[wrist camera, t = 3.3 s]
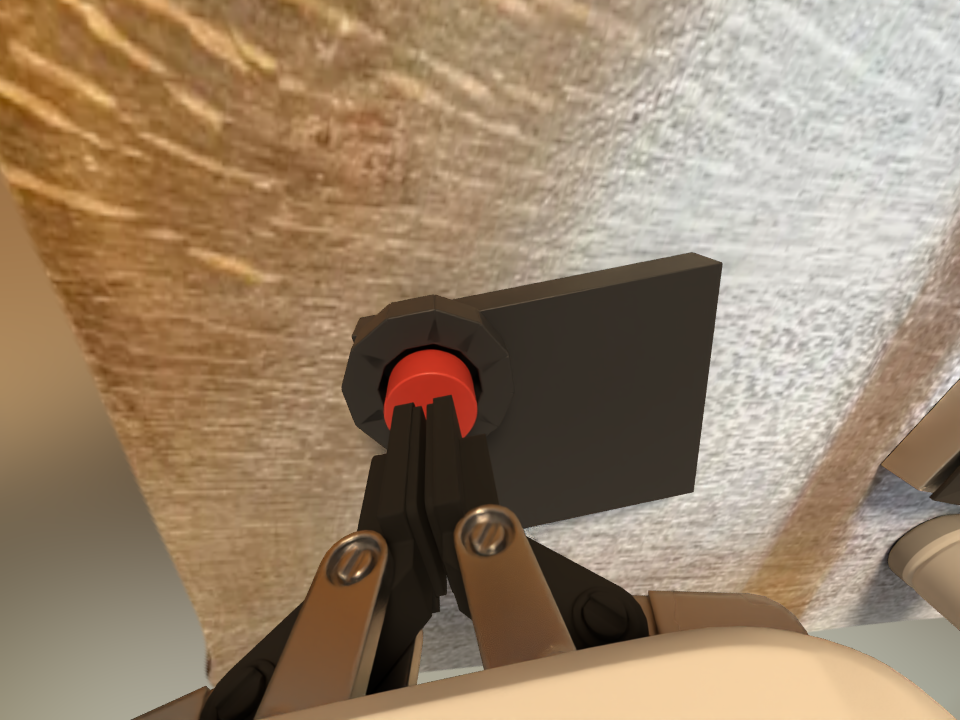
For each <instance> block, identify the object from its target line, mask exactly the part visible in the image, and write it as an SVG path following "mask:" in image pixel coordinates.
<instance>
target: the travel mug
mask: <svg viewBox="0 0 960 720" xmlns="http://www.w3.org/2000/svg"><path fill="white" fill-rule="evenodd" d="M888 565H889V567H890V569H891V570H892V571H893V572H894V573H895V574H896V575H897V576H898V577H900V578H901V579H902V580H903V581H904V582H905V583H906V584H907V585H909V586H910V587H912V588H914V590H915V591H916V593H918V594H919V595H920V596H921V597H922V598H923V599H924V600H926V601H927V602H928V603H929V604H930V605H931V606H932V607H933V608H935V609H936V610H937V611H938V612H939V613H940V614H941V615H942V616H944V617H945V618H946V619H947V620H948V621H949V622H950V623H952V624H953V625H954V626H955V627H956V628H957V629H958V630H959V631H960V514H951V515H944V516H940V517H937V518H934V519H931V520H929V521H927V522H924V523H922V524H921V525H919V526H917V527H915V528H914V529H912V530H911V531H909V532H908V533H907V534H905V535H904V536H903V537H902V538H901V539H900V540H899V541H898V542H897V543H896V544H895V545H894V547H893V548H892V549H891V551H890V553H889V557H888Z"/></svg>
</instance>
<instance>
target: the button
mask: <svg viewBox="0 0 960 720" xmlns="http://www.w3.org/2000/svg"><path fill="white" fill-rule="evenodd" d="M447 395H452V397H453V401H454V406H455V410H456V414H457V418H458V422H459V427H460V431H461V435H462V438H464V437H465V436H466V435H467V434H468V433H469V432H470V430H471V429H472V427H473V425H474V423H475V421H476V418H477V401H476V396H475V391H474V386H473V381H472V377H471V374H470V371H469V369H468V368H467V366H466V365H465V364H464V363H463V362H462V361H461V360H460V359H459V358H457V357H456V356H454V355H452V354H450V353H448V352H445V351H441V350H434V349H427V350H421V351H417V352H414V353H412V354H409V355H408V356H406V357H404V358H403V359H402V360H400V361H399V362H398V363H397V365H396V366H395V367H394V369H393V370H392V372H391V375H390V377H389V382H388V387H387V393H386V398H385V403H384V419H385V422H386V425H387V427H388V428H389V430H390V428H391V422H392V415H393V409H394V406H397V405H402V404H407V403H412V402H413V403H414V404H415V407H417V406H422V408H423V411H424V415H425V418H426V407H427V404H432V403H433V398H437V397H442V396H447Z"/></svg>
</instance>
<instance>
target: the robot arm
mask: <svg viewBox="0 0 960 720" xmlns="http://www.w3.org/2000/svg"><path fill="white" fill-rule="evenodd" d="M446 575H447V577H446ZM447 578H448V581H449V584H450V587H451V590H452V593H454V595H455V598H456V601H457V604H458V607H459V611H461V612H462V613H463V614H465V615H466V616H467V617H469V618H470V619H471V620H472V621H473V625H474V629H475V634H476V638H477V642H478V646H479V651H480V655H481V659H482V663H483V667H484V670H483V671H478V672H474V673H469V674H464V675H459V676H455V677H450V678H446V679H441V680H436V681H432V682H427V683H423V684H418V685H417V679H418V672H419V666H420V659H421V652H422V646H423V630H422V628H423V627H424V626H425V624H426V623H427V622H428V621H429V619H430V618H431V617H432V613H435V612H440V596H443V595H446V594H447ZM131 720H957V719H955V717H953V716H952V715H951V714H950V713H949V712H948V711H947V710H946V709H945V708H943V707H942V706H941V705H940V704H939V703H937V702H936V701H935V700H934V699H933V698H931V697H930V696H929V695H928V694H927V693H925V692H924V691H923V690H922V689H921V688H919V687H918V686H917V685H916V684H914V683H913V682H912V681H910V680H909V679H907V678H906V677H904V676H903V675H901V674H900V673H898V672H897V671H896V670H894V669H893V668H891V667H890V666H888V665H886V664H884V663H883V662H881V661H879V660H877V659H875V658H873V657H871V656H869V655H867V654H864V653H862V652H859V651H857V650H855V649H853V648H850V647H847V646H844V645H841V644H838V643H835V642H831V641H828V640H826V639H822V638H818V637H814V636H810V635H808V633H807V631H806V630H805V629H804V627H803V626H802V625H801V623H800V622H799V621H798V619H797V618H796V617H795V616H794V615H793V614H792V613H791V612H790V611H788V610H787V609H786V608H785V607H783V606H782V605H781V604H779V603H777V602H775V601H773V600H771V599H769V598H767V597H765V596H760V595H755V594H750V593H718V592H684V591H650V590H648V596H643V595H631V594H630V593H628V592H627V591H625V590H624V589H623V588H621V587H620V586H618V585H616V584H614V583H612V582H610V581H608V580H607V579H605V578H603V577H601V576H599V575H597V574H595V573H594V572H592V571H590V570H588V569H586V568H584V567H582V566H581V565H579V564H577V563H575V562H573V561H571V560H569V559H568V558H566V557H564V556H562V555H560V554H558V553H556V552H555V551H553V550H551V549H549V548H547V547H545V546H543V545H542V544H540V543H538V542H536V541H534V540H532V539H530V538H529V537H527V536H526V535H525V532H524V530H523V528H522V526H521V523H520V521H519V519H518V518H517V516H516V515H515V514H514V513H513V512H512V511H511V510H509V509H508V508H506V507H503V506H500V505H499V500H498V495H497V490H496V485H495V479H494V474H493V469H492V464H491V459H490V454H489V449H488V444H487V439H486V435H485V433H484V434H479V435H475V436H470V437H465V438H462V435H461V431H460V427H459V422H458V418H457V414H456V410H455V406H454V401H453V397H452V395H447V396H442V397H437V398H433V403H432V404H427V407H426V418H425V415H424V411H423V408H422V406H417V407H415V404H414V403H413V402H412V403H407V404H402V405H397V406H394V409H393V415H392V422H391V428H390V434H389V441H388V447H387V453H386V454H382V455H377V456H374V457H373V458H372V461H371V465H370V470H369V475H368V480H367V485H366V490H365V495H364V500H363V505H362V509H361V514H360V519H359V524H358V529H357V532H353V533H351V534H349V535H347V536H345V537H343V538H342V539H340V540H339V541H338V542H336V543H335V544H334V545H333V546H332V547H331V548H330V549H329V550H328V551H327V552H326V554H325V556H324V558H323V559H322V561H321V563H320V565H319V568H318V570H317V572H316V575H315V577H314V579H313V582H312V584H311V586H310V589H309V591H308V593H307V596H306V598H305V600H304V601H303V602H302V603H301V604H300V605H299V606H298V607H297V608H296V609H295V610H293V611H292V612H291V613H290V614H289V615H288V616H287V617H286V618H285V619H284V620H283V621H282V622H281V623H280V624H279V625H278V626H276V627H275V628H274V629H273V630H272V631H271V632H270V633H269V634H268V635H267V636H266V637H265V638H264V639H263V640H262V641H260V642H259V643H258V644H257V645H256V646H255V647H254V648H253V649H252V650H251V651H250V652H249V653H248V654H247V655H246V656H245V657H243V658H242V659H241V660H240V661H239V662H238V663H237V664H236V665H235V666H234V667H233V668H232V669H231V670H230V671H229V672H228V673H227V674H226V675H225V676H224V677H223V678H222V679H221V681H220V682H219V683H218V684H217V685H216V687H215V688H214V689H212V690H210V689H209V688H208V687H207V686H204V687H202V688H200V689H198V690H195V691H193V692H191V693H189V694H187V695H184V696H182V697H180V698H178V699H176V700H173V701H171V702H169V703H167V704H165V705H162V706H160V707H158V708H156V709H154V710H151V711H149V712H147V713H145V714H142V715H140V716H138V717H136V718H134V719H131Z"/></svg>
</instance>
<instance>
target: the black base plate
mask: <svg viewBox="0 0 960 720" xmlns="http://www.w3.org/2000/svg"><path fill="white" fill-rule="evenodd" d="M721 271H722V262H719V261H716V260H713V259H711V258H708V257H705V256H702V255H699V254H696V253H693V252H691V253H686V254H681V255H676V256H671V257H666V258H661V259H656V260H651V261H646V262H641V263H636V264H631V265H625V266H620V267H615V268H610V269H605V270H600V271H595V272H590V273H585V274H580V275H575V276H570V277H565V278H560V279H555V280H550V281H544V282H539V283H534V284H529V285H524V286H519V287H514V288H509V289H504V290H499V291H494V292H489V293H484V294H479V295H474V296H468V297H463V298H458V299H453V300H450V299H447V298H444V297H441V296H438V295H428V296H423V297H418V298H413V299H408V300H403V301H398V302H393V303H391V304H389V305H387V306H386V307H385V308H384V309H383V310H382V311H381V312H380V313H378V314H377V315H372V316H367V317H362V318H360V319H359V321H358V323H357V325H356V328H355V330H354V332H353V334H352V339H353V342H354V344H353V346H352V349H351V352H350V355H349V359H348V363H347V367H346V371H345V375H344V379H343V383H342V392H343V395H344V397H345V400H346V402H347V405H348V407H349V410H350V413H351V415H352V418H353V420H354V423H355V425H356V426H357V427H358V428H359V429H361V430H362V431H363V432H365V433H366V434H367V435H369V436H370V437H371V438H373V439H374V440H375V441H376V442H378V443H379V444H380V445H382V446H383V447H384V448H386V449H387V447H388V441H389V434H390V430H389V428H388V427H387V425H386V422H385V419H384V403H385V398H386V393H387V387H388V382H389V377H390V375H391V372H392V370H393V369H394V367H395V366H396V365H397V363H398V362H399V361H400V360H402V359H403V358H404V357H406V356H408V355H409V354H412V353H414V352H417V351H421V350H427V349H434V350H441V351H445V352H448V353H450V354H452V355H454V356H456V357H457V358H459V359H460V360H461V361H462V362H463V363H464V364H465V365H466V366H467V368H468V369H469V371H470V374H471V377H472V381H473V386H474V391H475V396H476V401H477V418H476V421H475V423H474V425H473V427H472V429H471V430H470V432H469V433H468V434H467V435H466V436H465V437H470V436H475V435H479V434H484V433H485V435H486V439H487V444H488V449H489V454H490V459H491V464H492V469H493V474H494V479H495V485H496V490H497V495H498V500H499V505H500V506H503V507H506V508H508V509H509V510H511V511H512V512H513V513H514V514H515V515H516V516H517V518H518V519H519V521H520V523H521V526H522V528H528V527H533V526H537V525H542V524H547V523H551V522H556V521H561V520H565V519H570V518H575V517H579V516H584V515H589V514H594V513H598V512H603V511H608V510H612V509H617V508H622V507H626V506H631V505H636V504H640V503H645V502H650V501H654V500H659V499H664V498H668V497H673V496H678V495H683V494H687V493H692V492H694V485H695V477H696V469H697V461H698V453H699V445H700V437H701V429H702V421H703V414H704V406H705V398H706V390H707V382H708V374H709V366H710V358H711V350H712V342H713V334H714V327H715V319H716V311H717V303H718V295H719V287H720V279H721ZM465 437H464V438H465Z"/></svg>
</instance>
